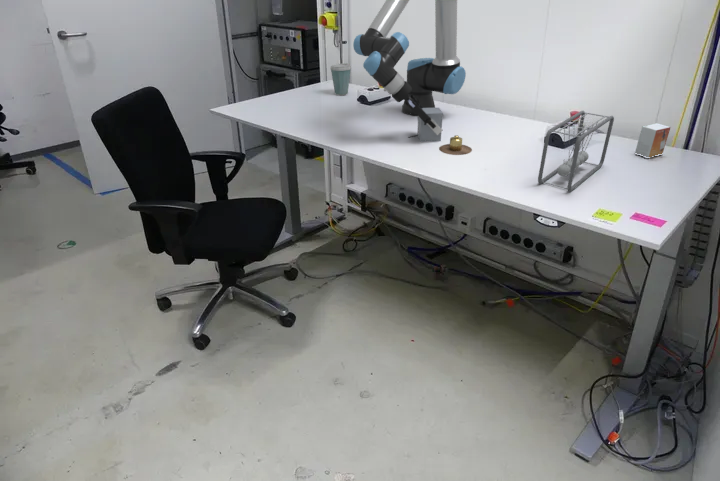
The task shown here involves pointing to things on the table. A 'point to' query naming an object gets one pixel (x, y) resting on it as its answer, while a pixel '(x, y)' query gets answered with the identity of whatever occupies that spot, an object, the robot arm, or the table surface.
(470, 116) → the table surface
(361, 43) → the robot arm
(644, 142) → the small box
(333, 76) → the disposable coffee cup
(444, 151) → the walnut coaster
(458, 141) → the brass weight
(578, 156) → the newton's cradle
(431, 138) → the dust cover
